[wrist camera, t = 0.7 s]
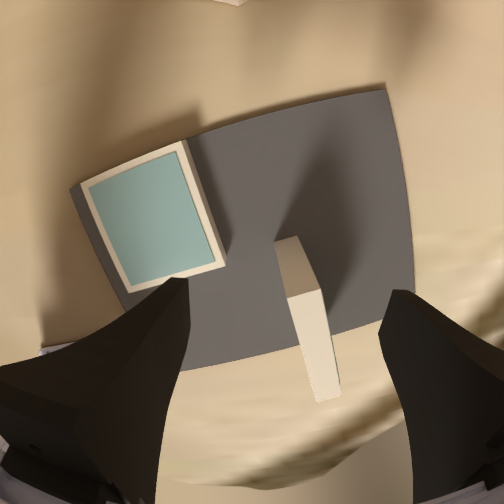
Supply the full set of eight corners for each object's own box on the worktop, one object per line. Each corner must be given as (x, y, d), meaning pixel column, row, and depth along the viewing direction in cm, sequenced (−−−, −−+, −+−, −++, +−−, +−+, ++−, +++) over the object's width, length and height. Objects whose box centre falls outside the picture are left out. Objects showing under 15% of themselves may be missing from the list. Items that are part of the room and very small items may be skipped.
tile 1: (135, 282, 22) (128, 294, 20) (90, 178, 19) (79, 183, 17) (226, 255, 21) (225, 266, 19) (185, 139, 18) (180, 140, 16)
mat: (164, 370, 26) (163, 374, 25) (72, 187, 19) (68, 189, 19) (412, 304, 24) (414, 307, 23) (382, 89, 17) (385, 88, 17)
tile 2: (299, 334, 24) (316, 402, 17) (273, 242, 21) (286, 298, 14) (321, 328, 24) (343, 395, 17) (298, 234, 21) (322, 288, 14)
